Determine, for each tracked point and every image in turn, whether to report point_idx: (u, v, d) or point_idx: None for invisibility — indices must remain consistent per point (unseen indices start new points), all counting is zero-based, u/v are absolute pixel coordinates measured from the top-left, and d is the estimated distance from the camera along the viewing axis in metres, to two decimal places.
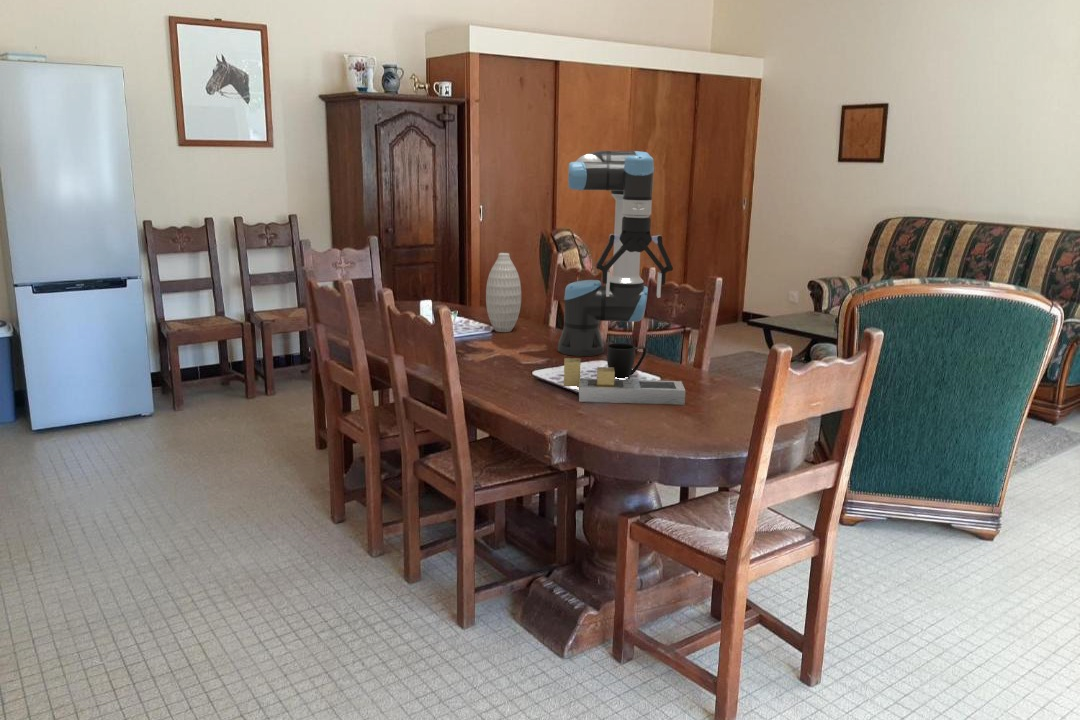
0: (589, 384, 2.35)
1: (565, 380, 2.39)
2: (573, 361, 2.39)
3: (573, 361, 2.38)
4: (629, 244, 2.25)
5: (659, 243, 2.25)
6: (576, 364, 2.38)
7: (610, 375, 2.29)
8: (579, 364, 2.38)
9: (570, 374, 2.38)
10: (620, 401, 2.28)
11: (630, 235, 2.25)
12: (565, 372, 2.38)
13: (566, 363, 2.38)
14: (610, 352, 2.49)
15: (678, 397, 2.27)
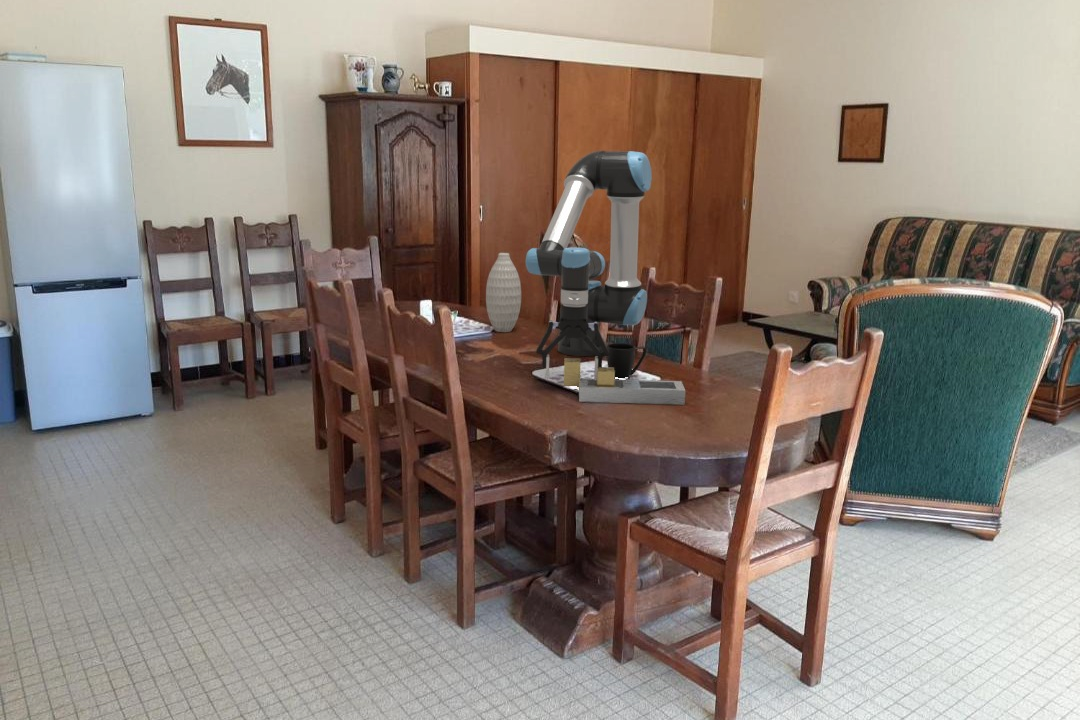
0: (589, 384, 2.35)
1: (565, 380, 2.39)
2: (573, 361, 2.39)
3: (573, 361, 2.38)
4: (567, 331, 2.36)
5: (595, 330, 2.36)
6: (576, 364, 2.38)
7: (610, 375, 2.29)
8: (579, 364, 2.38)
9: (570, 374, 2.38)
10: (620, 401, 2.28)
11: (568, 322, 2.36)
12: (565, 372, 2.38)
13: (566, 363, 2.38)
14: (610, 352, 2.49)
15: (678, 397, 2.27)
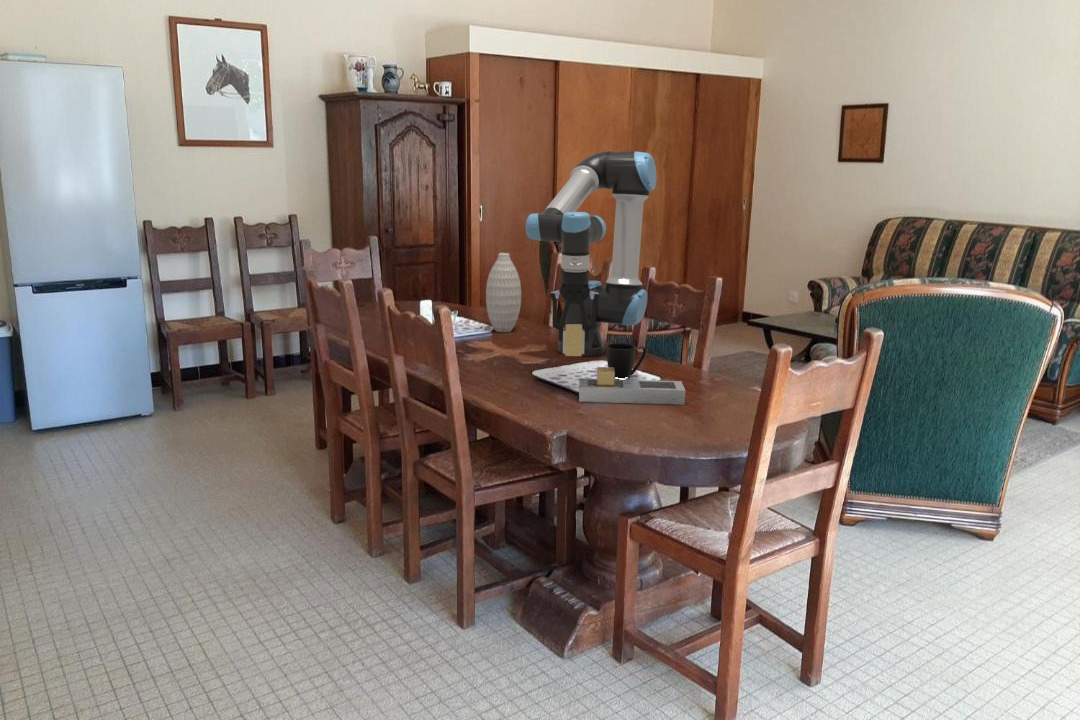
0: (589, 384, 2.35)
1: (567, 346, 2.37)
2: (574, 327, 2.36)
3: (574, 327, 2.36)
4: (569, 297, 2.34)
5: (594, 300, 2.34)
6: (578, 330, 2.36)
7: (610, 375, 2.29)
8: (581, 330, 2.36)
9: (572, 340, 2.36)
10: (620, 401, 2.28)
11: (567, 286, 2.34)
12: (567, 338, 2.36)
13: (567, 329, 2.36)
14: (610, 352, 2.49)
15: (678, 397, 2.27)
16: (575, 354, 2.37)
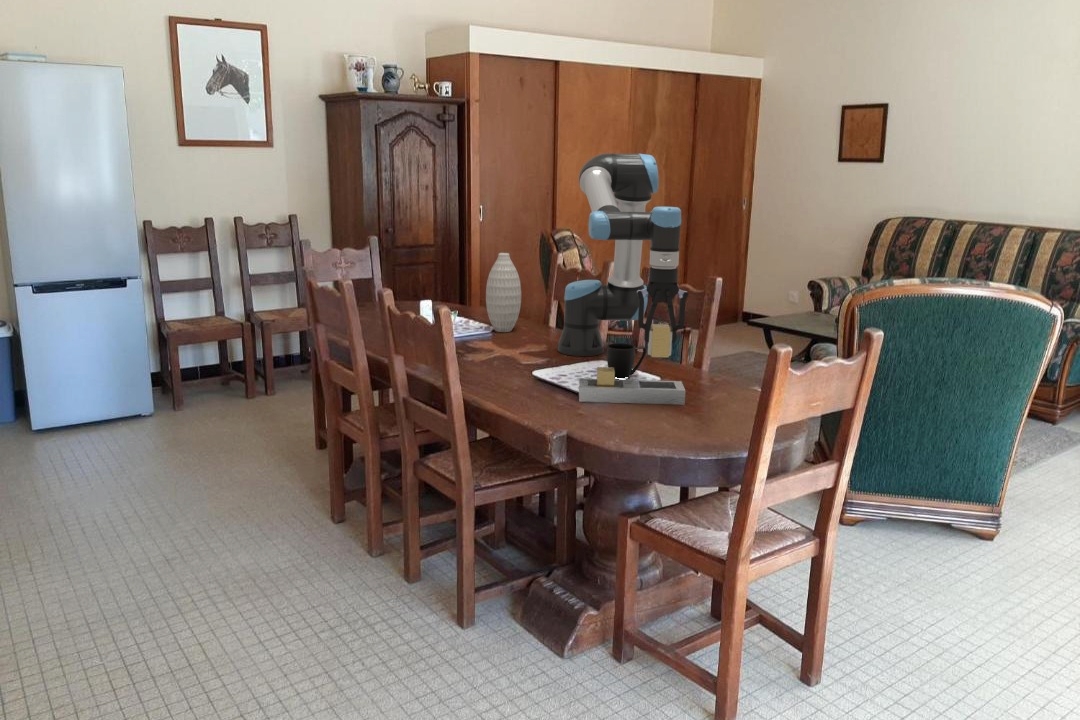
0: (589, 384, 2.35)
1: (653, 347, 2.26)
2: (662, 326, 2.26)
3: (662, 327, 2.26)
4: (658, 295, 2.23)
5: (683, 299, 2.24)
6: (666, 330, 2.25)
7: (610, 375, 2.29)
8: (668, 329, 2.25)
9: (659, 340, 2.26)
10: (620, 401, 2.28)
11: (655, 283, 2.23)
12: (654, 338, 2.26)
13: (655, 328, 2.25)
14: (610, 352, 2.49)
15: (678, 397, 2.27)
16: (662, 355, 2.27)
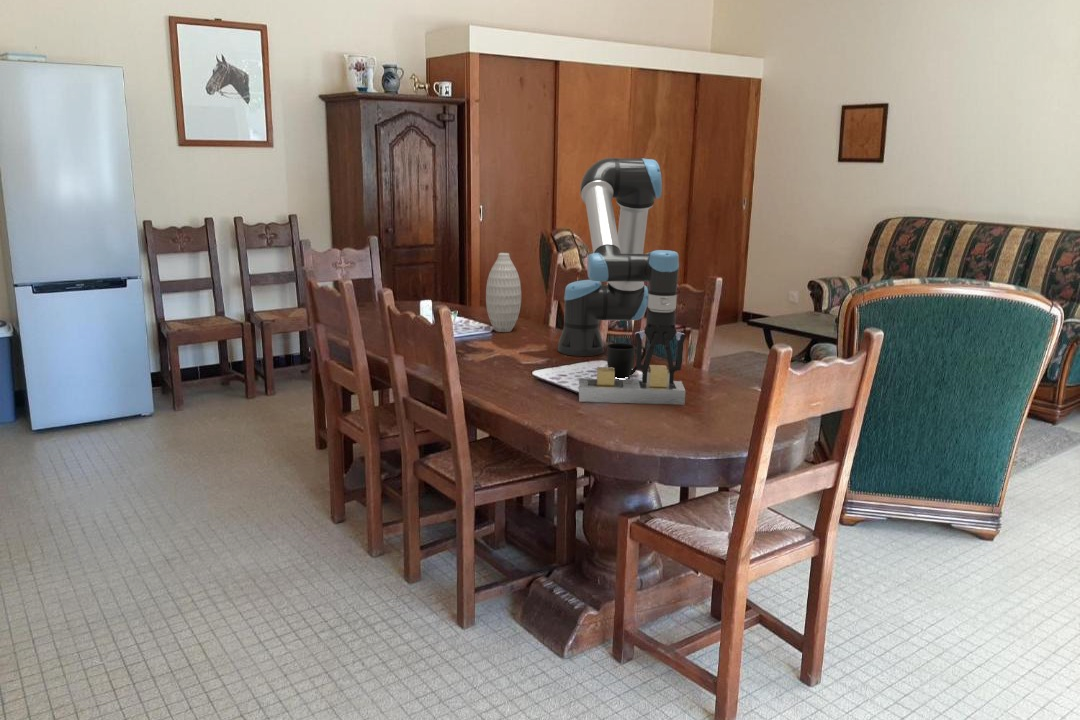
0: (589, 384, 2.35)
1: None
2: (659, 368, 2.29)
3: (659, 368, 2.28)
4: (655, 338, 2.26)
5: (680, 341, 2.27)
6: (663, 371, 2.28)
7: (610, 375, 2.29)
8: (666, 371, 2.28)
9: (657, 381, 2.29)
10: (620, 401, 2.28)
11: (653, 326, 2.26)
12: (651, 379, 2.29)
13: (652, 370, 2.28)
14: (610, 352, 2.49)
15: (678, 397, 2.27)
16: None
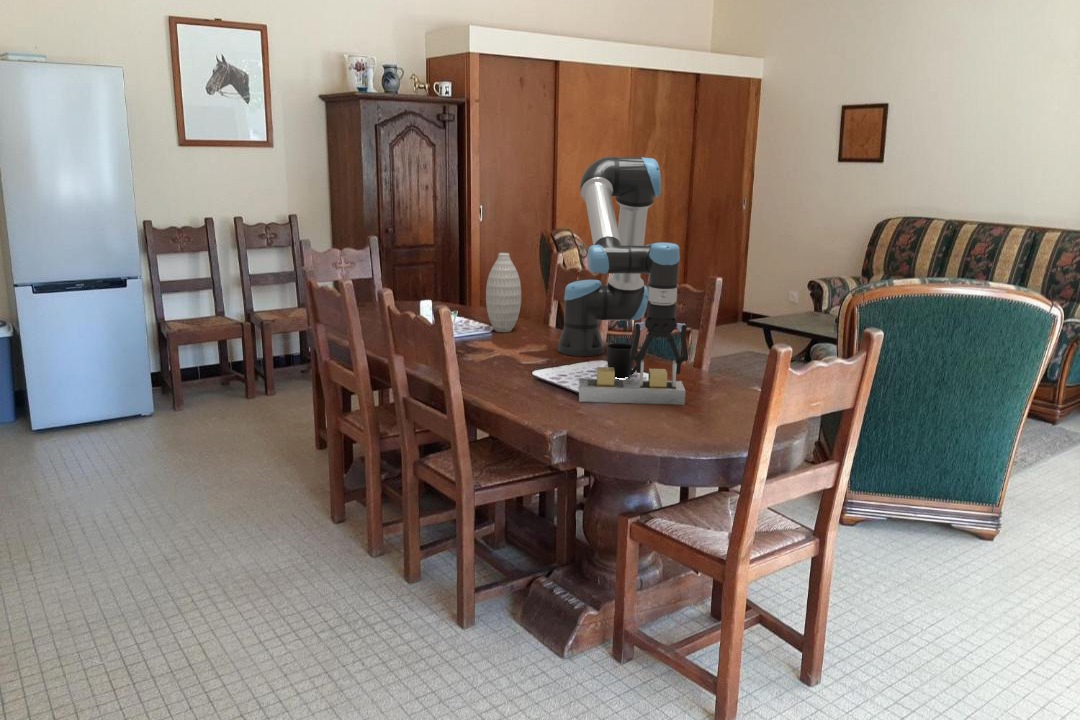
0: (589, 384, 2.35)
1: None
2: (659, 372, 2.29)
3: (659, 372, 2.29)
4: (655, 330, 2.26)
5: (682, 332, 2.27)
6: (663, 375, 2.28)
7: (610, 375, 2.29)
8: (666, 375, 2.28)
9: (656, 385, 2.29)
10: (620, 401, 2.28)
11: (654, 319, 2.26)
12: (651, 383, 2.29)
13: (652, 374, 2.28)
14: (610, 352, 2.49)
15: (678, 397, 2.27)
16: None
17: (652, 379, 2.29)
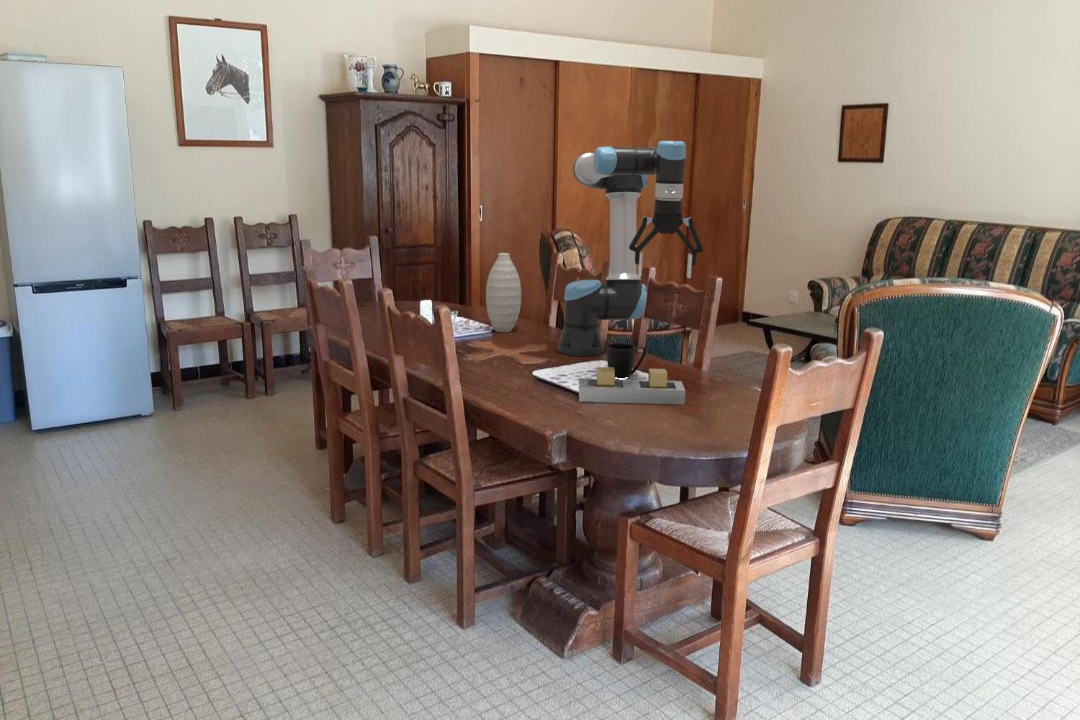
0: (589, 384, 2.35)
1: None
2: (659, 372, 2.29)
3: (659, 372, 2.29)
4: (661, 226, 2.34)
5: (690, 225, 2.34)
6: (663, 375, 2.28)
7: (610, 375, 2.29)
8: (666, 375, 2.28)
9: (656, 385, 2.29)
10: (620, 401, 2.28)
11: (662, 217, 2.34)
12: (651, 383, 2.29)
13: (652, 374, 2.28)
14: (610, 352, 2.49)
15: (678, 397, 2.27)
16: None
17: (652, 379, 2.29)
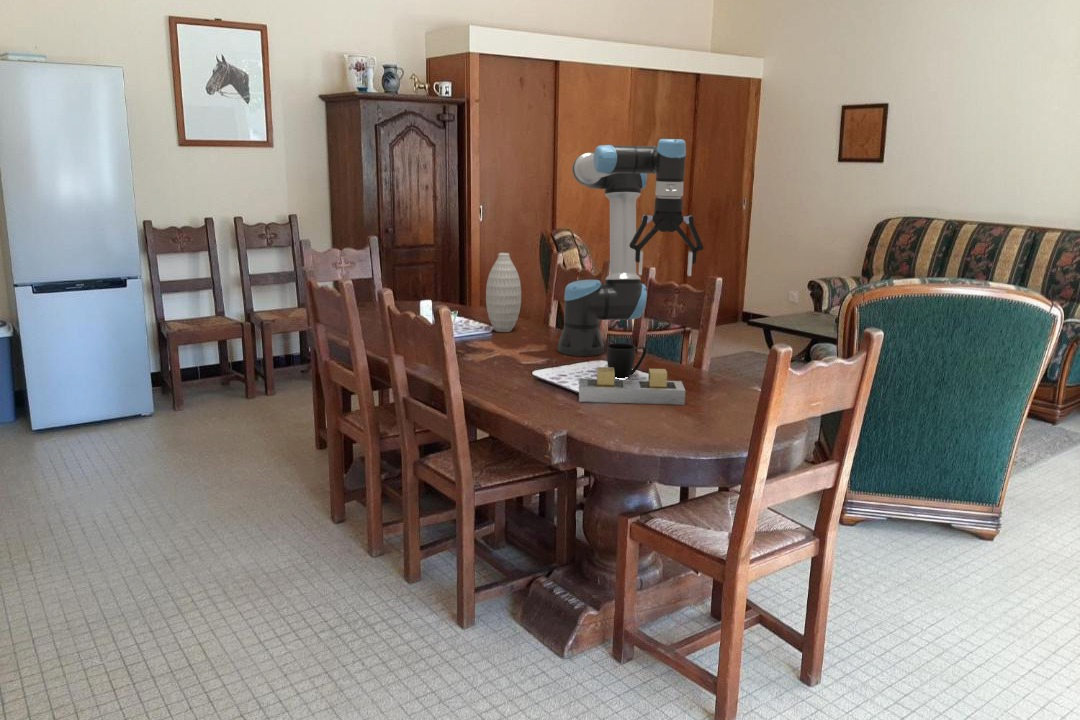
0: (589, 384, 2.35)
1: None
2: (659, 372, 2.29)
3: (659, 372, 2.29)
4: (662, 224, 2.34)
5: (690, 223, 2.34)
6: (663, 375, 2.28)
7: (610, 375, 2.29)
8: (666, 375, 2.28)
9: (656, 385, 2.29)
10: (620, 401, 2.28)
11: (662, 215, 2.34)
12: (651, 383, 2.29)
13: (652, 374, 2.28)
14: (610, 352, 2.49)
15: (678, 397, 2.27)
16: None
17: (652, 379, 2.29)
